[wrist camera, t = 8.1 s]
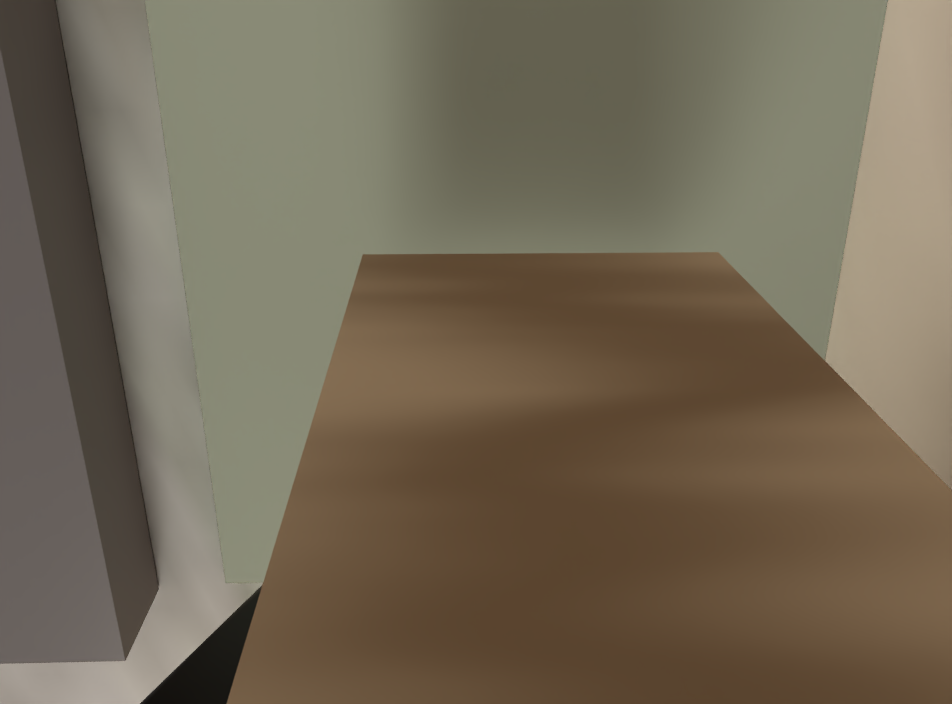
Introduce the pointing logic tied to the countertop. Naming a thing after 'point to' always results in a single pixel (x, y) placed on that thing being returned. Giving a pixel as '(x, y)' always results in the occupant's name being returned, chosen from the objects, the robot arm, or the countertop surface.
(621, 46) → the rubber mat
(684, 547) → the wooden plug
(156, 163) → the countertop surface
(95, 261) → the grey flat square slab
